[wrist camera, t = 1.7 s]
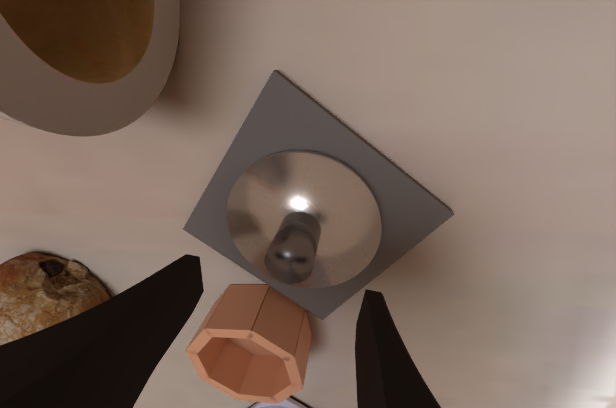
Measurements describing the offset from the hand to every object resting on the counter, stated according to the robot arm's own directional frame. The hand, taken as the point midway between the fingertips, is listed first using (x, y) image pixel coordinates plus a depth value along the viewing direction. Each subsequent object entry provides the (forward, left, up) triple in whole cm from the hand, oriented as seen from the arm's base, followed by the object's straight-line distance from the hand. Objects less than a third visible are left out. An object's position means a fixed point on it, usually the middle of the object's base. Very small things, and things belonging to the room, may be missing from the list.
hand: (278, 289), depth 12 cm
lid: (0, 0, -6) cm, 6 cm away
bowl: (-3, +11, -6) cm, 13 cm away
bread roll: (+12, +22, -7) cm, 26 cm away
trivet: (0, 0, -6) cm, 6 cm away
